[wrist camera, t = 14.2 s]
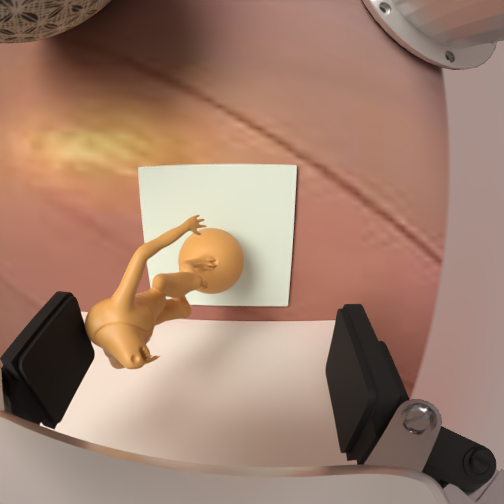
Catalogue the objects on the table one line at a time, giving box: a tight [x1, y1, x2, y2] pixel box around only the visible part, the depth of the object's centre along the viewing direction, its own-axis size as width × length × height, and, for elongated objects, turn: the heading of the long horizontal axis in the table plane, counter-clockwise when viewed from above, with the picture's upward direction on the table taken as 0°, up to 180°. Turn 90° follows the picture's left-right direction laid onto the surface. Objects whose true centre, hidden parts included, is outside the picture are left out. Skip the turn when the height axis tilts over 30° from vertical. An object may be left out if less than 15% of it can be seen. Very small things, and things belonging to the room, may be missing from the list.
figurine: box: [85, 215, 244, 369], centre depth 15 cm, size 8×6×12 cm
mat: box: [138, 164, 297, 306], centre depth 21 cm, size 10×10×1 cm
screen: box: [40, 312, 357, 467], centre depth 18 cm, size 24×2×13 cm, turn 89°
